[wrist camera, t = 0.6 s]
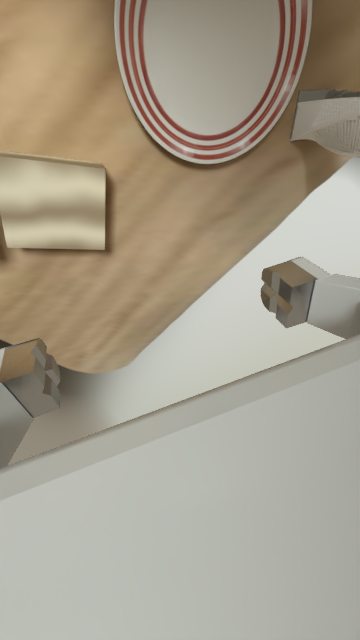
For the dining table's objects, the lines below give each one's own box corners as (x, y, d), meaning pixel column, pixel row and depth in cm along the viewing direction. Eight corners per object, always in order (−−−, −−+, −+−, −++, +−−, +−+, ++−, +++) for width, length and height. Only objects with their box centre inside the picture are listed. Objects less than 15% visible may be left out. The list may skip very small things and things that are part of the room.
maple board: (-5, 148, 38) (-12, 154, 35) (101, 162, 43) (105, 168, 39) (11, 234, 45) (7, 247, 42) (101, 238, 50) (104, 249, 46)
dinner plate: (287, 141, 50) (299, 144, 48) (140, 178, 46) (144, 183, 44) (313, -136, 32) (334, -155, 30) (75, -116, 28) (76, -136, 26)
